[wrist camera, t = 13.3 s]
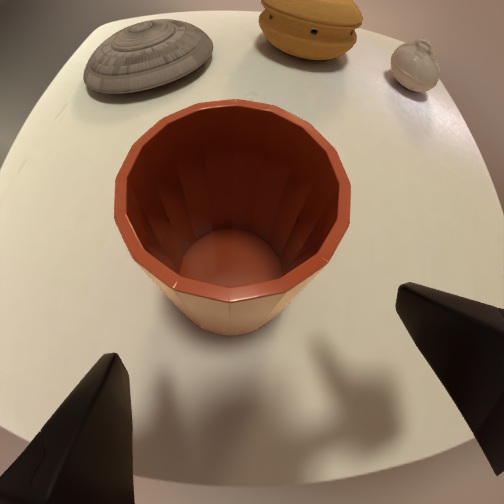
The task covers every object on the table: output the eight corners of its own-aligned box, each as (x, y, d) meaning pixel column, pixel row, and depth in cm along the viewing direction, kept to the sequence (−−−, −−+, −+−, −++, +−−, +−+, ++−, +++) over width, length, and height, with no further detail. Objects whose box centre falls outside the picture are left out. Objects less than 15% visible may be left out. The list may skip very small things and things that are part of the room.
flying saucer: (81, 65, 27) (70, 33, 22) (184, 26, 30) (182, -6, 25) (98, 125, 23) (80, 82, 18) (237, 72, 26) (239, 29, 21)
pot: (286, 23, 32) (295, -33, 23) (360, 54, 31) (381, -4, 21) (236, 47, 28) (241, -24, 19) (326, 85, 27) (350, 7, 17)
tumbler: (276, 345, 17) (341, 324, 7) (162, 320, 17) (79, 264, 7) (294, 239, 20) (350, 123, 10) (191, 218, 20) (163, 91, 10)
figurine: (433, 93, 29) (458, 52, 22) (418, 107, 27) (447, 60, 20) (396, 65, 31) (415, 23, 23) (375, 76, 29) (397, 26, 21)
